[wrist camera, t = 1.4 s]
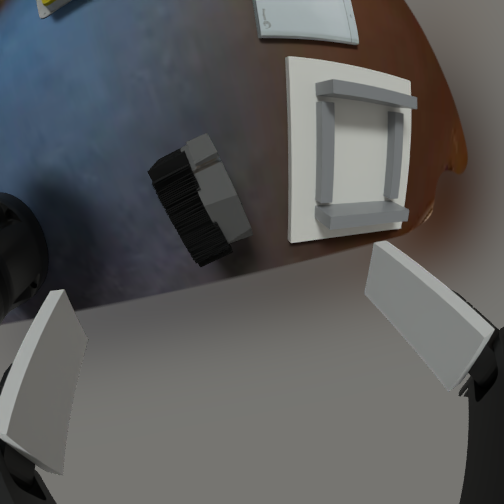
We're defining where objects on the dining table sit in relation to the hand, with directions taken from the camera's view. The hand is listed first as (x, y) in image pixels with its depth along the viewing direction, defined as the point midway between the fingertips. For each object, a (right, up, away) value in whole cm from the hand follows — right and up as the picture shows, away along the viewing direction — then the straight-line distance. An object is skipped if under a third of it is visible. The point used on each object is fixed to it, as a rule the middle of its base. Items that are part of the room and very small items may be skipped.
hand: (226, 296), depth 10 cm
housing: (+14, +14, +20) cm, 28 cm away
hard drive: (+7, +30, +11) cm, 32 cm away
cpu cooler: (-5, +9, +18) cm, 21 cm away
